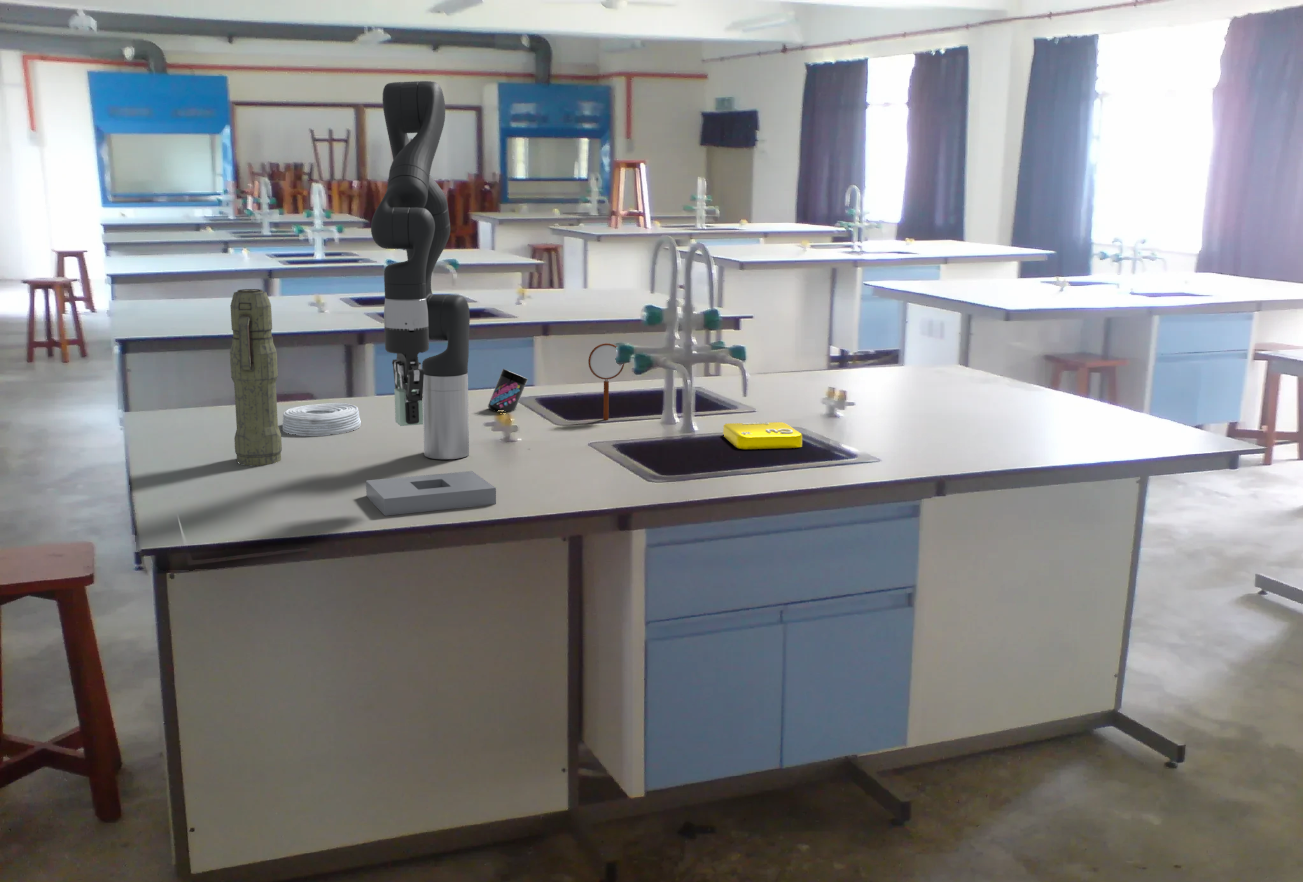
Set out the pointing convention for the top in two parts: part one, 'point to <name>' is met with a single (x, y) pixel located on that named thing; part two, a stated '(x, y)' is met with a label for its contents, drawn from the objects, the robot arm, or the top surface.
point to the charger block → (400, 408)
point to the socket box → (430, 492)
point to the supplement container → (507, 391)
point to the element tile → (762, 435)
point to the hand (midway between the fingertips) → (409, 420)
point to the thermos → (254, 379)
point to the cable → (321, 419)
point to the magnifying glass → (604, 368)
